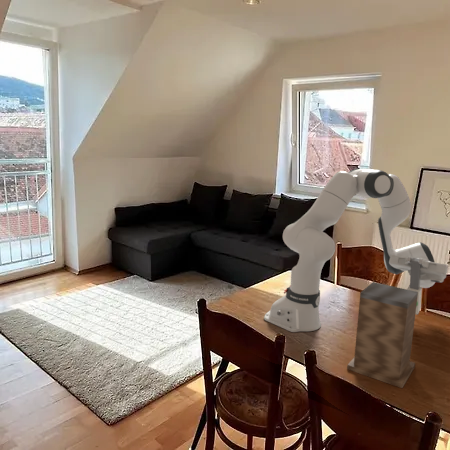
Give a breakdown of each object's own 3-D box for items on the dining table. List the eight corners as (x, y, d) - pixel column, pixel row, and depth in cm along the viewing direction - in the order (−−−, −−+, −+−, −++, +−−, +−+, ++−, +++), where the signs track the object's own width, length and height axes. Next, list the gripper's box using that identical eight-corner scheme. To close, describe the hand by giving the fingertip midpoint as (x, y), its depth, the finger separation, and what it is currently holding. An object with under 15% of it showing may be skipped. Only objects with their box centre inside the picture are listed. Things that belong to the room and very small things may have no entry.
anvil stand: (347, 369, 138) (353, 292, 133) (363, 350, 150) (370, 279, 144) (402, 388, 129) (412, 306, 123) (414, 366, 140) (424, 291, 135)
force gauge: (408, 306, 170) (405, 312, 167) (410, 257, 161) (407, 262, 158) (420, 308, 167) (417, 315, 164) (423, 259, 158) (420, 265, 155)
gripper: (394, 257, 174) (387, 247, 163) (450, 267, 163) (447, 257, 152) (391, 272, 173) (383, 263, 162) (447, 283, 161) (443, 274, 150)
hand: (414, 260), depth 157 cm, fingers closed on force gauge, 3 cm apart
